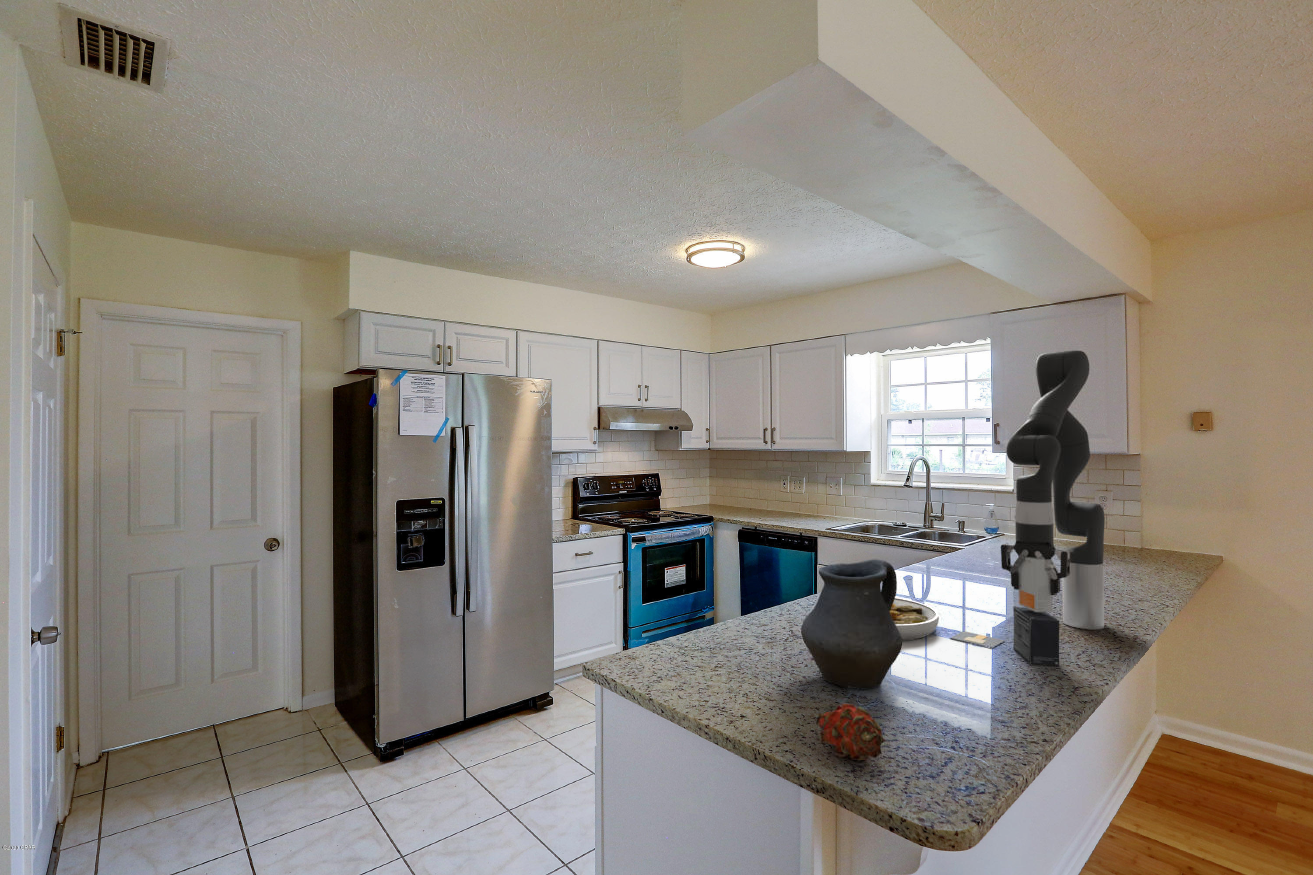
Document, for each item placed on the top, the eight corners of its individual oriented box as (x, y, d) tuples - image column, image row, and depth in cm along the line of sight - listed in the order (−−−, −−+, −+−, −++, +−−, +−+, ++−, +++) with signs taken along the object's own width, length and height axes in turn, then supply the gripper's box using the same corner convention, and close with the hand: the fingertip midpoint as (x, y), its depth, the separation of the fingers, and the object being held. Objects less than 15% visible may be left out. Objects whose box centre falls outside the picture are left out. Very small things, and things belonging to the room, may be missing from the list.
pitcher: (782, 671, 135) (781, 558, 135) (859, 656, 143) (858, 550, 144) (845, 708, 116) (844, 576, 116) (930, 689, 125) (929, 566, 125)
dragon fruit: (884, 783, 93) (820, 763, 103) (904, 735, 98) (841, 720, 108) (858, 746, 91) (796, 729, 101) (880, 699, 96) (818, 687, 105)
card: (963, 632, 161) (963, 630, 161) (1005, 641, 153) (1005, 639, 153) (950, 638, 156) (950, 637, 156) (992, 648, 148) (992, 647, 148)
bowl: (946, 621, 172) (945, 593, 172) (929, 652, 147) (928, 619, 147) (839, 606, 188) (838, 580, 188) (806, 632, 163) (806, 603, 163)
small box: (1062, 667, 136) (1061, 619, 136) (1029, 665, 137) (1029, 618, 137) (1042, 651, 146) (1041, 607, 146) (1012, 649, 148) (1011, 605, 148)
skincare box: (1017, 605, 145) (1017, 554, 145) (1034, 604, 145) (1034, 554, 145) (1035, 612, 139) (1035, 559, 139) (1053, 611, 139) (1052, 559, 139)
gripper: (1075, 522, 139) (1076, 594, 139) (1006, 516, 150) (1007, 584, 150) (1064, 525, 134) (1065, 600, 134) (994, 519, 145) (995, 589, 145)
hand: (1035, 591), depth 142 cm, fingers closed on skincare box, 7 cm apart
